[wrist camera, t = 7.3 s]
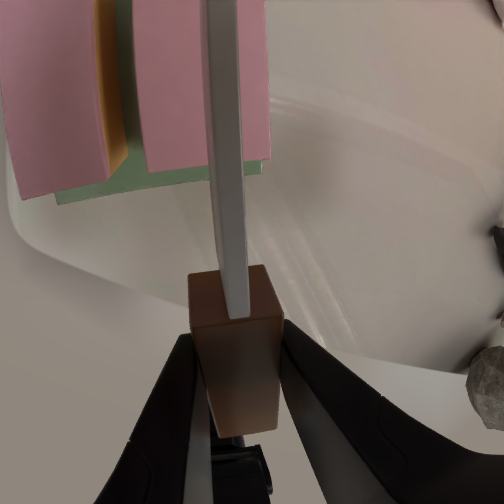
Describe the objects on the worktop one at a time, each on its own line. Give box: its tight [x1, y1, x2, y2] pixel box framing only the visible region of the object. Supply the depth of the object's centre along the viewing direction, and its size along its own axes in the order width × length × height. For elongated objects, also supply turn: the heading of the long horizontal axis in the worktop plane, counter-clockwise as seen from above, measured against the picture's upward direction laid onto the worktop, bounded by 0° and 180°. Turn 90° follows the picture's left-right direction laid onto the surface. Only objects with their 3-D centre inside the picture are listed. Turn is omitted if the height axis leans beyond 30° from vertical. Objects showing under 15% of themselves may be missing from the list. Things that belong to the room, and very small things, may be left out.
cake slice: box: [0, 0, 128, 200], centre depth 8 cm, size 7×3×4 cm, turn 3°
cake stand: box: [54, 0, 263, 205], centre depth 12 cm, size 10×9×6 cm
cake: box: [132, 0, 271, 173], centre depth 8 cm, size 7×4×4 cm, turn 3°
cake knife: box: [188, 0, 284, 438], centre depth 6 cm, size 14×2×2 cm, turn 2°
